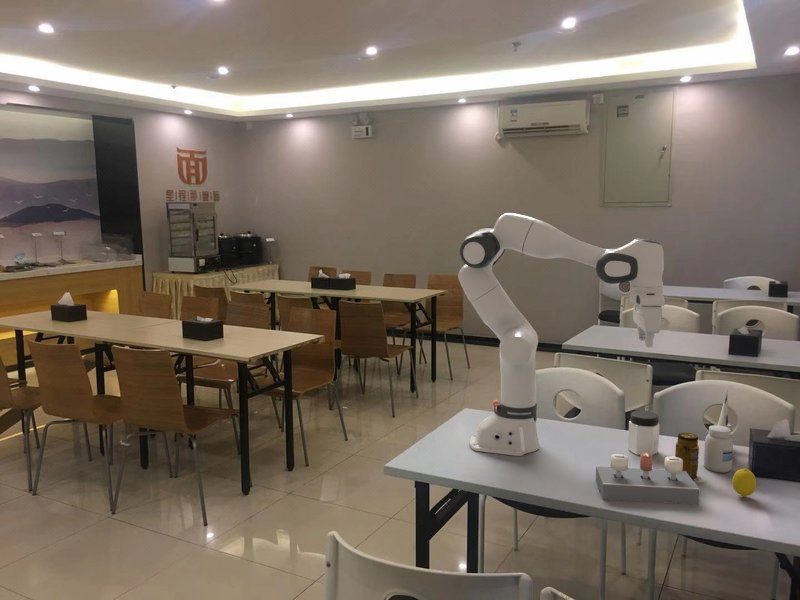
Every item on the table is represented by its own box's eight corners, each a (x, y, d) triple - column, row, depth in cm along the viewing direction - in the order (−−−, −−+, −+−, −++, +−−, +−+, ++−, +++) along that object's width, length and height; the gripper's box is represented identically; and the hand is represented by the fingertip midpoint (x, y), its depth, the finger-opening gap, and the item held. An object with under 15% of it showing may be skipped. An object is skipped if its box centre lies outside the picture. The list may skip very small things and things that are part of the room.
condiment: (692, 470, 187) (694, 430, 185) (706, 482, 179) (708, 441, 177) (667, 470, 187) (669, 431, 185) (680, 482, 179) (682, 441, 177)
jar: (649, 458, 196) (650, 420, 194) (623, 451, 201) (625, 414, 200) (661, 450, 202) (663, 414, 200) (637, 444, 207) (638, 408, 206)
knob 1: (611, 484, 172) (612, 459, 171) (608, 477, 176) (609, 453, 175) (628, 485, 171) (629, 460, 170) (625, 478, 176) (626, 453, 174)
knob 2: (666, 487, 170) (667, 461, 169) (661, 480, 174) (663, 455, 173) (683, 488, 169) (685, 462, 168) (678, 481, 173) (680, 456, 172)
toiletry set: (730, 475, 183) (735, 406, 180) (701, 470, 187) (706, 402, 184) (736, 447, 204) (741, 385, 201) (710, 443, 208) (714, 381, 205)
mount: (602, 499, 169) (603, 484, 168) (595, 479, 181) (596, 465, 180) (698, 504, 165) (699, 489, 165) (685, 484, 177) (685, 470, 177)
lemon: (728, 492, 172) (730, 463, 171) (749, 492, 172) (751, 464, 171) (736, 501, 167) (738, 472, 166) (758, 502, 166) (761, 473, 165)
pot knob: (640, 485, 171) (642, 456, 170) (638, 480, 174) (639, 451, 173) (652, 485, 171) (653, 456, 170) (649, 480, 174) (651, 452, 173)
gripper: (628, 291, 192) (627, 336, 194) (641, 300, 172) (640, 350, 174) (650, 291, 191) (649, 336, 193) (666, 300, 171) (664, 350, 173)
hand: (645, 343), depth 184 cm, fingers open, 8 cm apart
